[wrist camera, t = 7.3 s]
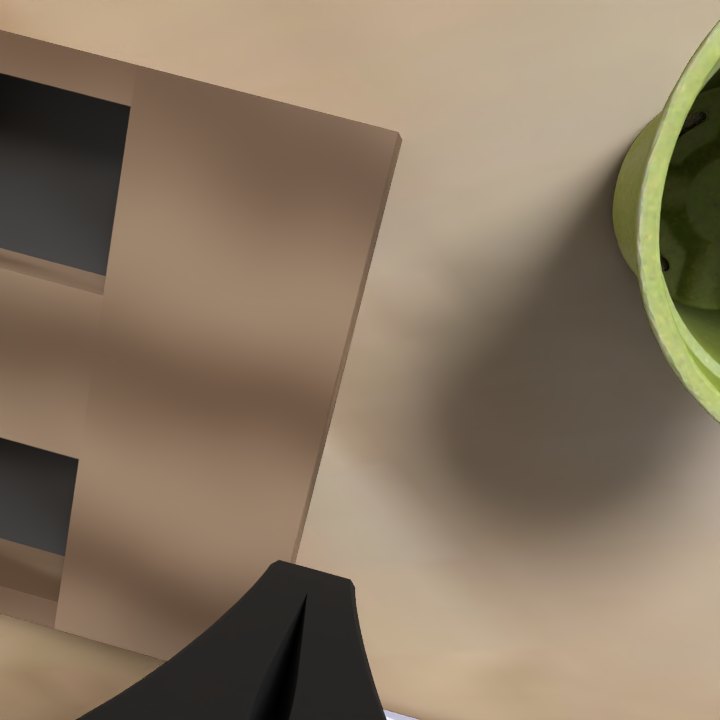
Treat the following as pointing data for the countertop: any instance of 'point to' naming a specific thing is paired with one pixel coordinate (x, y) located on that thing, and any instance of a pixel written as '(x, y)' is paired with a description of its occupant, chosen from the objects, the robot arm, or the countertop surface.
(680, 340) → the plant pot
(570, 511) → the countertop surface
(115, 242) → the tray
